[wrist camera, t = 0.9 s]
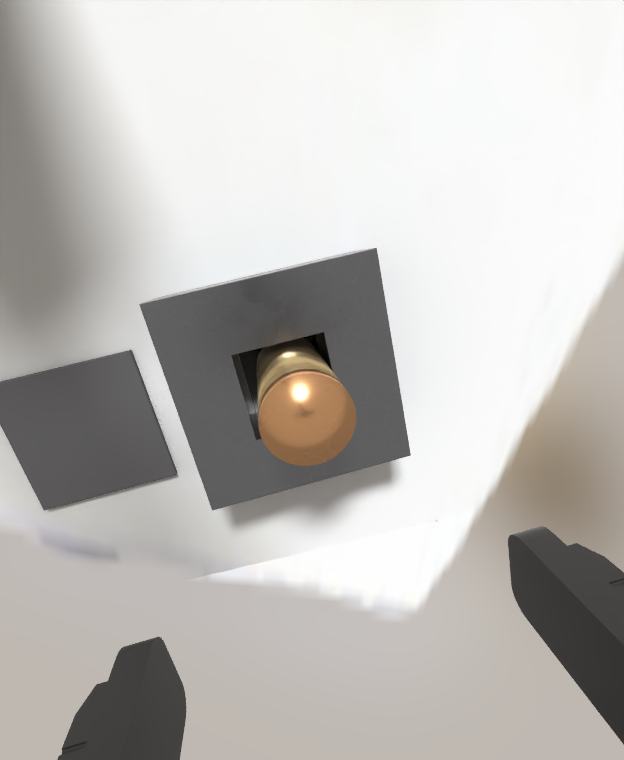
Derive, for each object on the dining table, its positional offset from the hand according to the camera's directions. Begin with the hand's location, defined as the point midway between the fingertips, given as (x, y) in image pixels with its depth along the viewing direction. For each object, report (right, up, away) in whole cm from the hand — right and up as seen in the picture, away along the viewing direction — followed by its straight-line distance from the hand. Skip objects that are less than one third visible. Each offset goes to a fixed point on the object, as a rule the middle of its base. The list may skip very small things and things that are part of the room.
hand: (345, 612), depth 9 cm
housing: (-3, +6, +21) cm, 22 cm away
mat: (-17, +1, +20) cm, 26 cm away
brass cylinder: (-3, +6, +21) cm, 22 cm away
